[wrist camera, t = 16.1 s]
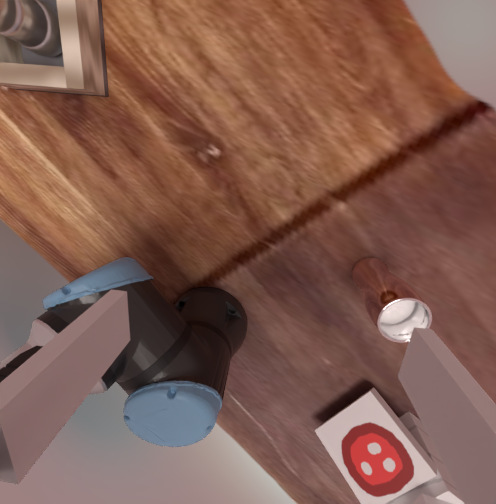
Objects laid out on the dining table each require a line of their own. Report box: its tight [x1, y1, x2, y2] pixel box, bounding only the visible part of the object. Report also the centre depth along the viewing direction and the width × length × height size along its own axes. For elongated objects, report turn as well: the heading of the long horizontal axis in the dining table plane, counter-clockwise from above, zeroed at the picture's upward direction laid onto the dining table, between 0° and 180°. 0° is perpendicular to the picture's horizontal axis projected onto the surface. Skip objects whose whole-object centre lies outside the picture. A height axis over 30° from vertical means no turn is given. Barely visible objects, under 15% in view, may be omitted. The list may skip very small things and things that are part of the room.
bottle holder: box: [0, 0, 109, 97], centre depth 40 cm, size 15×15×6 cm
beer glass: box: [352, 257, 432, 343], centre depth 43 cm, size 7×7×15 cm
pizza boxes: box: [315, 387, 464, 504], centre depth 54 cm, size 19×30×18 cm, turn 50°
